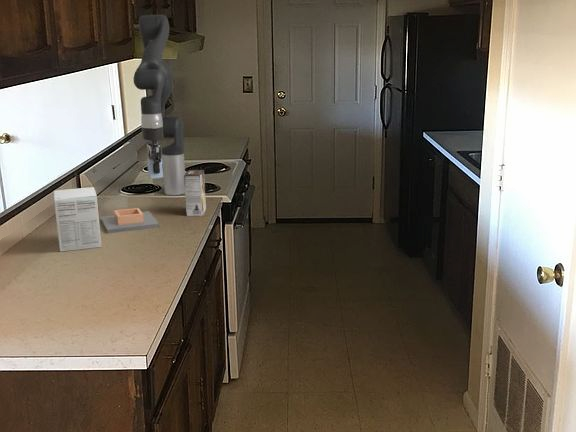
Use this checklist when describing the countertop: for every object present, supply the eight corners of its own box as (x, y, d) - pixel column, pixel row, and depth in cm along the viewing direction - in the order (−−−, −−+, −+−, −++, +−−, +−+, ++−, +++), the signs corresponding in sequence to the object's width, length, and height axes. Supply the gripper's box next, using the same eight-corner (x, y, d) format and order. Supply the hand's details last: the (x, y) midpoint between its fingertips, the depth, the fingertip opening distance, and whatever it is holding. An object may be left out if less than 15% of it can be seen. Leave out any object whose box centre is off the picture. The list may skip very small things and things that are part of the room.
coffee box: (190, 209, 254) (187, 169, 250) (206, 209, 254) (204, 169, 250) (186, 216, 245) (183, 174, 241) (203, 216, 245) (200, 174, 241)
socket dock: (100, 219, 242) (99, 209, 241) (149, 214, 248) (148, 203, 247) (107, 233, 226) (106, 221, 225) (158, 226, 233) (158, 215, 231)
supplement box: (102, 247, 211) (97, 195, 206) (59, 252, 207) (53, 199, 202) (99, 235, 223) (94, 186, 218) (58, 240, 219) (52, 190, 214)
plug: (148, 176, 241) (146, 154, 239) (160, 175, 242) (159, 153, 240) (150, 178, 237) (149, 156, 235) (163, 177, 238) (161, 155, 236)
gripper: (138, 124, 239) (141, 169, 244) (145, 129, 227) (149, 176, 231) (158, 122, 242) (161, 167, 247) (167, 127, 229) (169, 174, 234)
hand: (155, 171), depth 239 cm, fingers closed on plug, 4 cm apart
